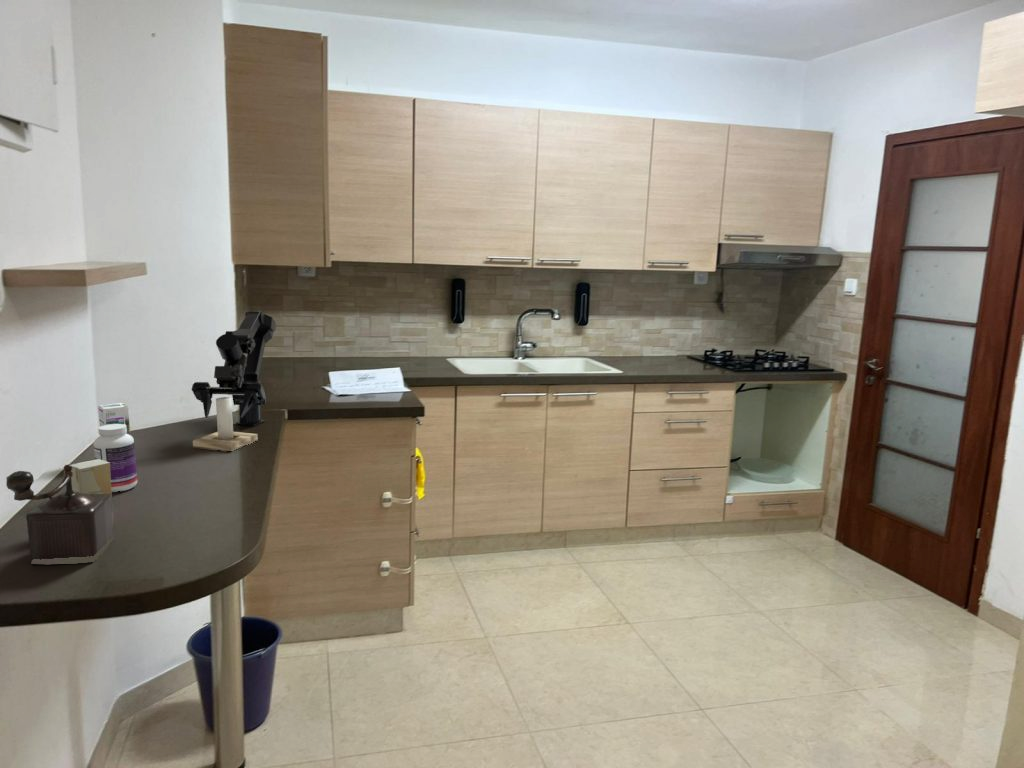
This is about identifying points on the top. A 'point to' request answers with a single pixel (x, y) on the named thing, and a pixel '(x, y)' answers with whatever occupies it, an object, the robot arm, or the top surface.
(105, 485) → the skincare box
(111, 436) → the pill bottle
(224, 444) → the socket block
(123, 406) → the syrup box
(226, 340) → the robot arm
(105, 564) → the top surface
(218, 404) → the peg
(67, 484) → the manual coffee grinder
